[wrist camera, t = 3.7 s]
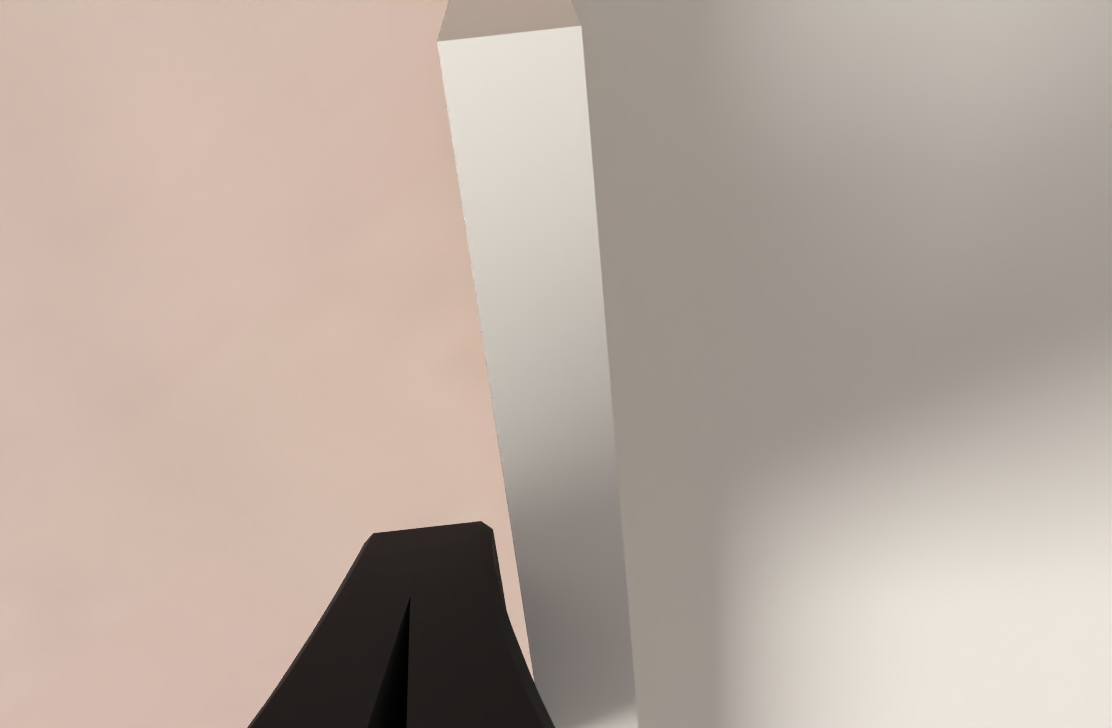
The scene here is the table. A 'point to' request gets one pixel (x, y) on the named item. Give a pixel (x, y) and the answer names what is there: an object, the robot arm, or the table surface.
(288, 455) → the table surface
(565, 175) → the lid
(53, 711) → the table surface
